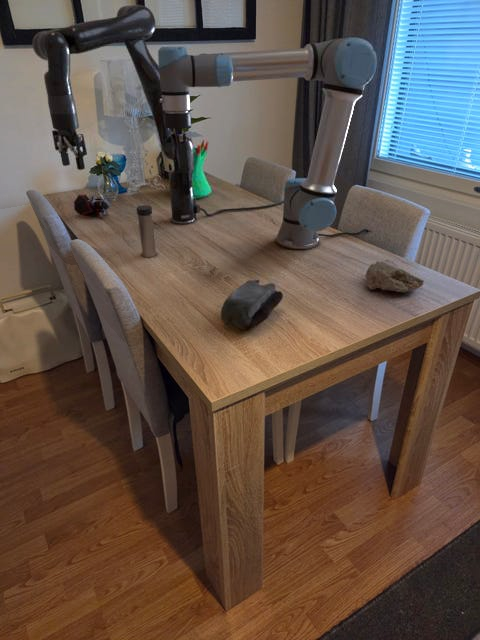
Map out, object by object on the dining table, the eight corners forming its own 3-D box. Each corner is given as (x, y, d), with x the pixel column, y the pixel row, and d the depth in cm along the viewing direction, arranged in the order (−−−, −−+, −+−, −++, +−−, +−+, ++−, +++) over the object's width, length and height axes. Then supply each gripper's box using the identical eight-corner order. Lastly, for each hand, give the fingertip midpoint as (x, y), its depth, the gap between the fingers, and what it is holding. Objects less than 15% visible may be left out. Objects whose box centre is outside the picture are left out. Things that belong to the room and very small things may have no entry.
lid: (143, 216, 144) (142, 210, 143) (134, 213, 147) (133, 207, 146) (155, 213, 148) (154, 207, 147) (145, 210, 150) (145, 204, 149)
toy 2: (167, 190, 223) (163, 137, 210) (207, 188, 227) (205, 135, 214) (172, 202, 206) (167, 145, 193) (214, 199, 210) (213, 143, 197)
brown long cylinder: (148, 258, 152) (143, 211, 144) (140, 254, 155) (134, 209, 146) (158, 254, 155) (153, 208, 147) (150, 251, 158) (145, 205, 149)
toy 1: (101, 187, 180) (72, 186, 186) (93, 207, 178) (64, 205, 183) (117, 205, 191) (89, 203, 196) (109, 223, 188) (82, 221, 194)
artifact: (384, 303, 127) (425, 296, 132) (391, 281, 123) (434, 275, 127) (349, 272, 141) (388, 267, 145) (355, 251, 136) (395, 247, 141)
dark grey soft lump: (254, 340, 110) (255, 313, 105) (215, 329, 114) (214, 302, 110) (284, 308, 123) (285, 283, 119) (248, 299, 128) (248, 274, 124)
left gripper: (87, 112, 131) (96, 168, 139) (61, 108, 138) (72, 162, 147) (64, 114, 126) (75, 173, 134) (39, 110, 134) (51, 166, 142)
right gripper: (159, 107, 133) (166, 179, 144) (167, 118, 112) (174, 201, 123) (184, 106, 134) (189, 177, 145) (196, 117, 113) (200, 199, 125)
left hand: (73, 167), depth 141 cm, fingers open, 8 cm apart
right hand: (182, 188), depth 134 cm, fingers open, 13 cm apart
